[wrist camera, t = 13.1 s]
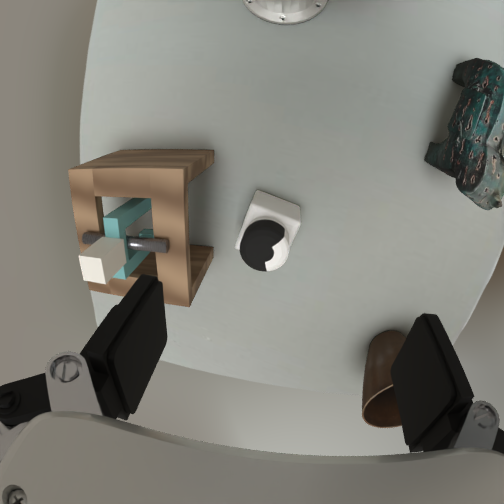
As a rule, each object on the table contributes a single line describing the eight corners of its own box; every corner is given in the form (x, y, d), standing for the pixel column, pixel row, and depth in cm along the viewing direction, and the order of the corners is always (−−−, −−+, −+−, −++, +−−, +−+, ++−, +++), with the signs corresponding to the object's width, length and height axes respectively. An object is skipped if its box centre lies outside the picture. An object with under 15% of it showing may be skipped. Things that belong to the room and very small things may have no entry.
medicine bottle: (241, 229, 49) (226, 266, 39) (256, 188, 46) (245, 215, 35) (283, 245, 50) (280, 285, 39) (300, 205, 46) (303, 238, 36)
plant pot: (434, 330, 54) (459, 388, 40) (389, 375, 61) (402, 433, 46) (383, 304, 52) (405, 367, 38) (337, 355, 59) (344, 419, 45)
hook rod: (87, 229, 37) (80, 234, 35) (169, 237, 36) (164, 243, 34) (89, 240, 37) (83, 246, 36) (170, 249, 36) (165, 255, 35)
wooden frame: (120, 150, 45) (68, 169, 33) (214, 150, 44) (183, 169, 32) (129, 248, 54) (89, 290, 41) (213, 257, 52) (189, 307, 40)
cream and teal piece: (141, 190, 42) (74, 233, 27) (160, 190, 42) (97, 235, 27) (145, 240, 46) (88, 299, 31) (163, 242, 46) (110, 303, 31)
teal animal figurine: (441, 181, 41) (513, 231, 23) (409, 164, 41) (476, 207, 23) (477, 74, 32) (560, 75, 14) (446, 54, 32) (525, 39, 14)
